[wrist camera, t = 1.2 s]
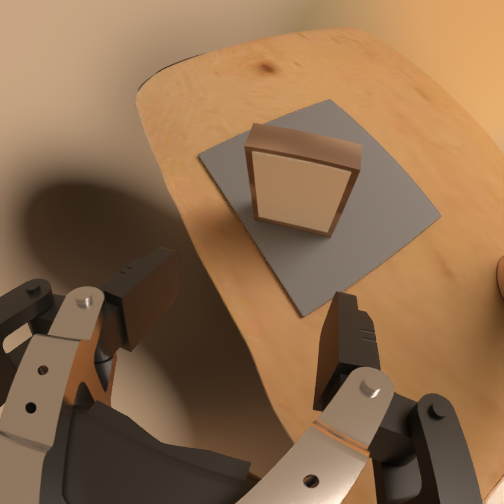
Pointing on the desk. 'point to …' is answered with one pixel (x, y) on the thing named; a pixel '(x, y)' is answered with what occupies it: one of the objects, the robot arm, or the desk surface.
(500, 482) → the flat white fragment
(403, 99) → the desk surface
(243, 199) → the desk mat
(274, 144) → the walnut picture frame
